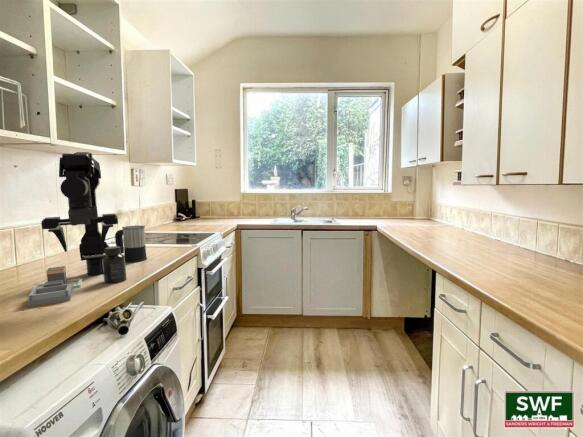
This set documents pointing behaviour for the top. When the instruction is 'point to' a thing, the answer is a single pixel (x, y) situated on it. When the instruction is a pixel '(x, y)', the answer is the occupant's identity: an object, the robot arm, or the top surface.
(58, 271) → the plug
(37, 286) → the tray
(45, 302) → the grey storage bin
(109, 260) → the supplement bottle
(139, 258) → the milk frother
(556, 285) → the top surface
